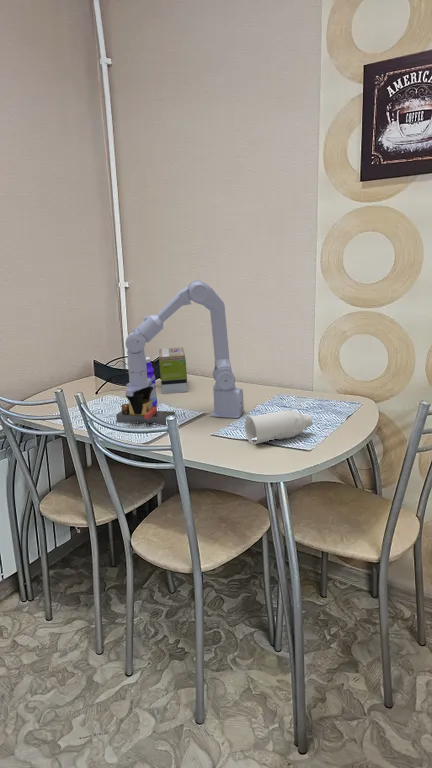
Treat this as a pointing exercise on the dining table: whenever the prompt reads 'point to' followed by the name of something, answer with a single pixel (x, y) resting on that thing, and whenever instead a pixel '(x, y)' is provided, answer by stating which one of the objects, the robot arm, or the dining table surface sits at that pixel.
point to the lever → (150, 413)
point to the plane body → (157, 418)
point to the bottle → (153, 384)
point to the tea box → (173, 370)
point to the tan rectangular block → (145, 407)
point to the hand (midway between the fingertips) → (141, 411)
